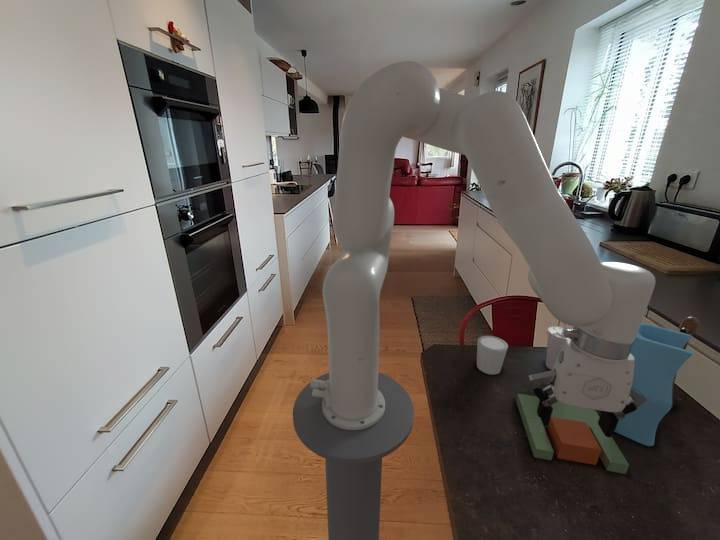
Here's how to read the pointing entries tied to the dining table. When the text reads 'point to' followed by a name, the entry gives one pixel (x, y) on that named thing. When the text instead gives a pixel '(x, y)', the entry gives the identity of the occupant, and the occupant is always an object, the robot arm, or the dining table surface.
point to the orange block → (573, 441)
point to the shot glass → (490, 354)
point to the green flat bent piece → (536, 429)
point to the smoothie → (554, 343)
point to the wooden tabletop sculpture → (687, 327)
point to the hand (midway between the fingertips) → (572, 425)
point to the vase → (653, 379)
